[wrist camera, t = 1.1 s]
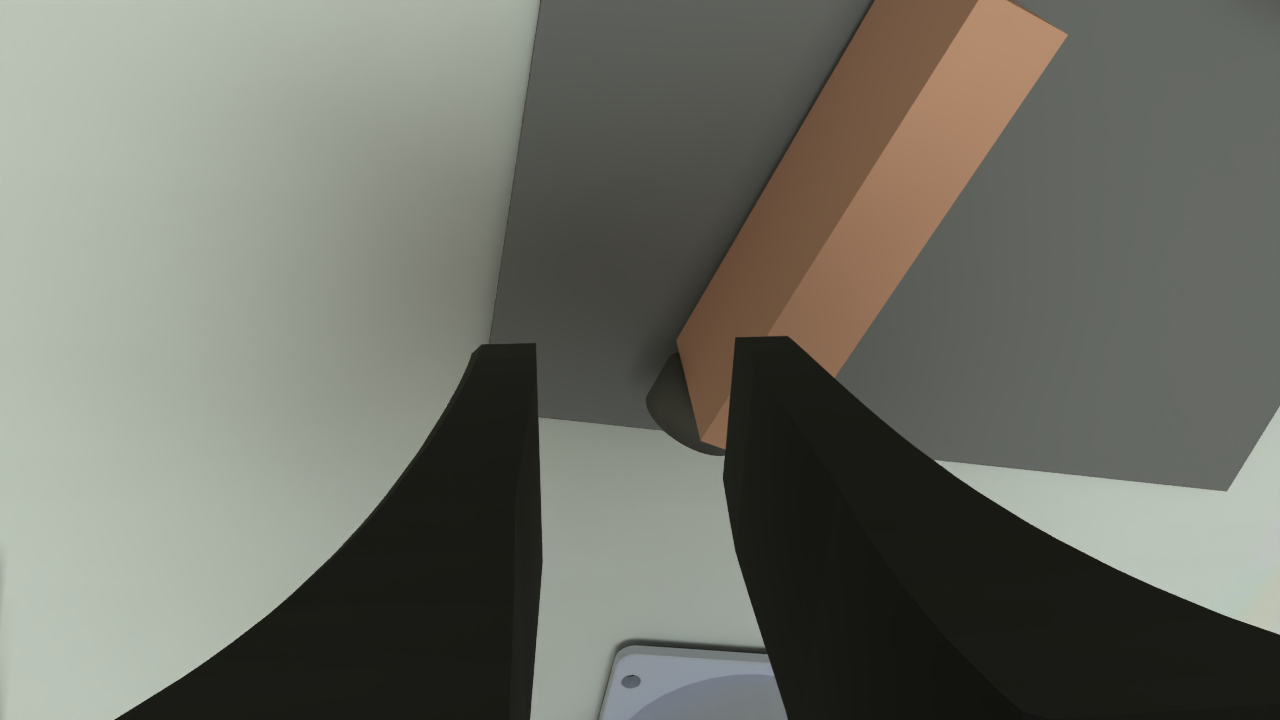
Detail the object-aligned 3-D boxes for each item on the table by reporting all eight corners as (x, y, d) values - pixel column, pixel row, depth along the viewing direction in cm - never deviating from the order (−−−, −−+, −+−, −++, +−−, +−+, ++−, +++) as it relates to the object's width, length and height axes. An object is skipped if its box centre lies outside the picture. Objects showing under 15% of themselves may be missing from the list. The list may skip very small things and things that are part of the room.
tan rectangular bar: (896, -68, 19) (969, -20, 16) (995, -14, 19) (1082, 42, 16) (640, 375, 23) (659, 479, 20) (728, 407, 24) (758, 512, 21)
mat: (1220, 483, 28) (1226, 491, 27) (480, 402, 24) (479, 410, 24) (1639, -203, 19) (1655, -202, 19) (612, -481, 16) (615, -483, 16)
